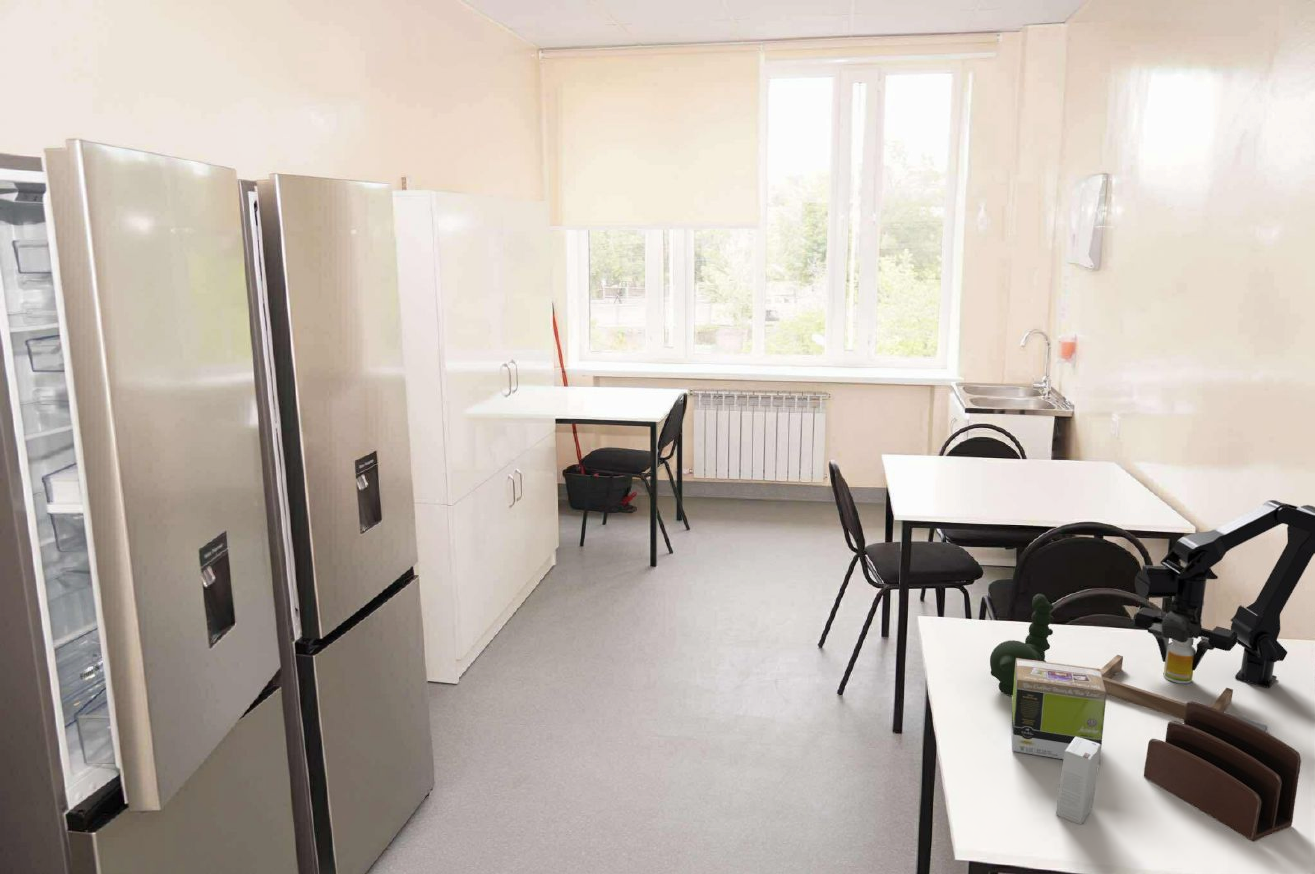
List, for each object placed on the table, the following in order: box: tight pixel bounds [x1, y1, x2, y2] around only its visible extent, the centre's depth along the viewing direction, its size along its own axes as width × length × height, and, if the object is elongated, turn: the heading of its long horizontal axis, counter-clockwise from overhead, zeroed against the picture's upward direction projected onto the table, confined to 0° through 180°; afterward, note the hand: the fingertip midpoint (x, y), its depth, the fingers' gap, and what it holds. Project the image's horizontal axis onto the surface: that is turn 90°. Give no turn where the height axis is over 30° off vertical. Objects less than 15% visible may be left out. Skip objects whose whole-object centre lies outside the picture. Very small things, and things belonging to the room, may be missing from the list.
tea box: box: [1010, 658, 1107, 765], centre depth 171 cm, size 15×10×15 cm, turn 71°
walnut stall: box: [1099, 654, 1234, 721], centre depth 192 cm, size 14×22×3 cm, turn 45°
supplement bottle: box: [1163, 637, 1197, 685], centre depth 198 cm, size 5×5×10 cm
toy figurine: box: [989, 593, 1055, 697], centre depth 195 cm, size 9×19×25 cm
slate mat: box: [1226, 712, 1268, 732], centre depth 178 cm, size 10×7×1 cm
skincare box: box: [1055, 737, 1102, 825], centre depth 152 cm, size 6×4×12 cm
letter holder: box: [1143, 700, 1302, 842], centre depth 155 cm, size 10×20×14 cm, turn 25°
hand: (1179, 665), depth 199 cm, fingers closed on supplement bottle, 5 cm apart
